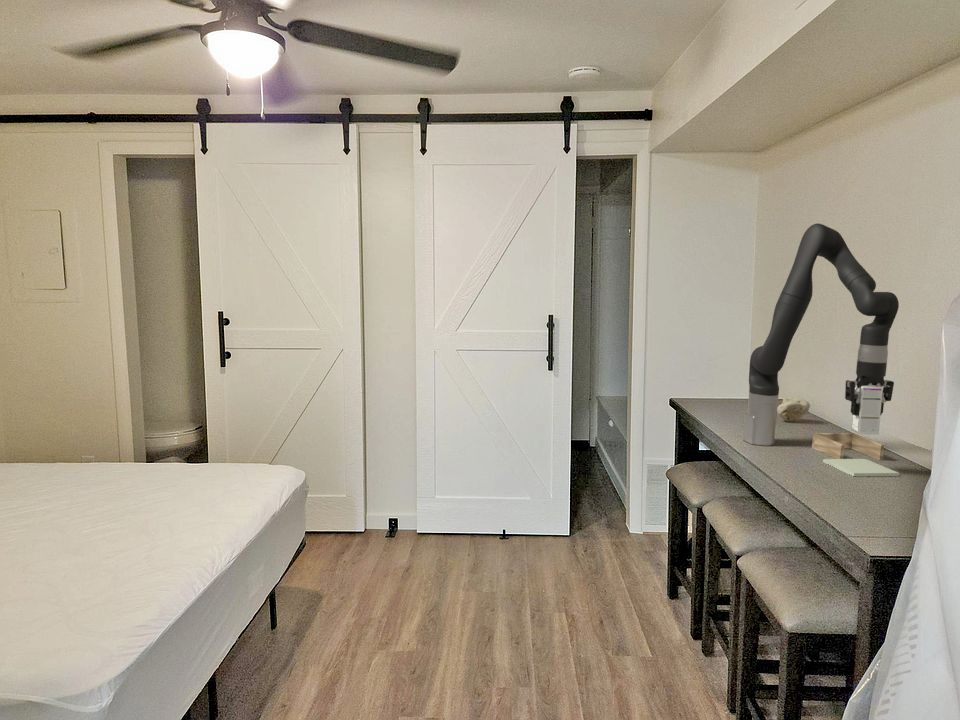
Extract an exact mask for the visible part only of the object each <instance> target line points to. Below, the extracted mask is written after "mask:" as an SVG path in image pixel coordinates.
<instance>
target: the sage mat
mask: <svg viewBox="0 0 960 720" xmlns="http://www.w3.org/2000/svg"><path fill="white" fill-rule="evenodd" d="M822 462H823V463H824V464H826V465H828V464H829V466H830V465H831V467H832V466H833V467H832V468H834V467H835V468H834V469H836V468H837V470H839V471H841V472H843V473H845V474H848V475H849V474H850V475H849V476H851V475H852V476H851V477H853V476H856V477H855V478H857V477H859V478H861V477H868V476H870V477H899V474H900V473H899V472H898V471H895V470H892V469H891V468H888V467H885V466H883V465H881V464H878V463H876V462H874V461H871V460H870V459H867V458H843V459H836V458H824V459H823V461H822Z"/></svg>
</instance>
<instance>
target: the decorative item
mask: <svg viewBox="0 0 960 720" xmlns="http://www.w3.org/2000/svg"><path fill="white" fill-rule="evenodd" d="M810 407H811V405H810V402H809V401H807V400H806V399H804V398H802V397H793V398H783V400H782V402H781V404H778V406H777V415H778V416H779V417H781V419H782V420H784V421H785V422H788V423H792V422H795V421H797V420H801V419H802V418H803V417H804V416H805V415H807V414H809V410H810Z"/></svg>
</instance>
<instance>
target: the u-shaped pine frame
mask: <svg viewBox="0 0 960 720" xmlns="http://www.w3.org/2000/svg"><path fill="white" fill-rule="evenodd" d="M811 442H812V443H811V448H812V449H814V450H816V451H818V452H820V453H822V452H823V453H822V454H824V455H826V456H830V457H831V458H833V457H834V458H833V459H844V453H845V452H844V451H845V449H851V448H852V450H854V451H857V452H859V453H861V454H863V455H865V456H869V457H871V458H873V459H875V460H878V461H883V459H884V451H885V449H884V448H885V444H883V443H881V442H877V441H875V440H872V439H870V438H867V437H864V436H863V435H862V436H861V435H859V434H858V433H854V432H853V433H851V432H849V433H848V432H846V433H845V432H841V433H840V432H837V433H836V432H833V433H832V432H829V433H828V432H826V433H825V432H823V433H822V432H817V433H815V432H813V433H812V441H811Z"/></svg>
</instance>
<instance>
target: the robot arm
mask: <svg viewBox="0 0 960 720" xmlns="http://www.w3.org/2000/svg"><path fill="white" fill-rule="evenodd" d="M818 257H822V258H824V259H825V260H827V261H828V262H829V263H830V264H832V265H833V266H834V267H835V269H836V271H837V276H838V278H839V280H840V282H841V283H842V285H843V286H844V287H845V288H846V289H847V290H848V291H849V293H851V294H850V295H851V297H852V299H853V303H854V305H855V307H856V310H857V311H858V312H859V313H860V314H861V315H864V316H867V317H874V318H873V320H872V321H871V323H867V324H864V325H863V326H862V327H861V330H860V339H859V345H858V350H857V358H856V359H857V360H856V369H855V370H856V371H855V374H856V378H855V380H848V379H847V380H845V391H844V393H845V394H844V396H845V397H844V399H845V400H846V401H848V402H851V404H850V413H851V415H852V416H853V415H855V416H858V415H859V408H860V404H859V403H860V398H861V395H862V394H861V393H859V392H858V389H859V387H860V388H861V387H862V386H872V385H876V386H881V387H883V391H882V402H881V414H880V416H882V414H883V413H884V408H885V403H886V402H891V400H892V397H893V393H894V392H893V391H894V386H895V381H892V380H889V379H884V378H886V375H887V366H888V358H889V355H888V354H889V350H888V348H889V347H888V346H889V345H888V344H889V338H890V337H889V336H890V331H891V328H892V326H893V324H894V321H895V319H896V316H897V313H898V311H899V304H900V303H899V299H898V297H897V295H896V294H894V292H893V293H892V292H891V291H875V290H876V287H877V282H876V281H875V279H874V278H873V277H872V275H871V274H870V273H869V272H868V271H867V270H866V269H865V268H864V267H863V266H862V265H861V263H859V262H858V260H857V259H856V257H855V256H854V254H853V253H852V252H851V250H850V249H849V247H848V245H847V243H846V241H845V239H844V238H843V236H842V235H841V233H839V231H837V230H836V229H833V227H832V228H831V227H829V226H827V225H825V224H822V223H814V224H812V225H810V226H809V227H807V229H806V230H805V232H804V233H803V235H802V237H801V240H800V242H799V245H798V249H797V252H796V255H795V259H794V261H793V264H792V267H791V269H790V271H789V274H788V276H787V278H786V282H785V284H784V286H783V287H782V290H781V292H780V294H779V297H778V299H777V302H776V304H775V307H774V311H773V314H772V315H773V316H772V320H771V327H770V330H769V333H768V335H767V338H766V339H765V341H764V343H763V345H760V346H758V347H756V348H755V349H754V350H753V351H752V352H751V355H750V360H749V373H748V386H749V388H748V389H749V390H748V401H747V412H746V413H744V420H743V432H742V440H743V441H744V442H746V443H747V444H750V445H757V446H774V445H775V439H776V438H775V437H776V436H775V435H776V427H777V418H778V417H777V415H778V413H777V408H778V406H779V395H780V394H779V393H780V385H779V380H778V377H779V372H780V371H781V370H782V368H783V367H784V365H785V361H786V359H787V355H788V352H789V349H790V345H791V343H792V340H793V338H794V336H795V334H796V332H797V330H798V328H799V326H800V324H801V322H802V320H803V318H804V316H805V314H806V312H807V309H808V307H809V305H810V302H811V300H812V298H813V285H814V284H813V269H814V265H815V262H816V260H817V258H818ZM856 386H857V388H856V389H855V387H856Z"/></svg>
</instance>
